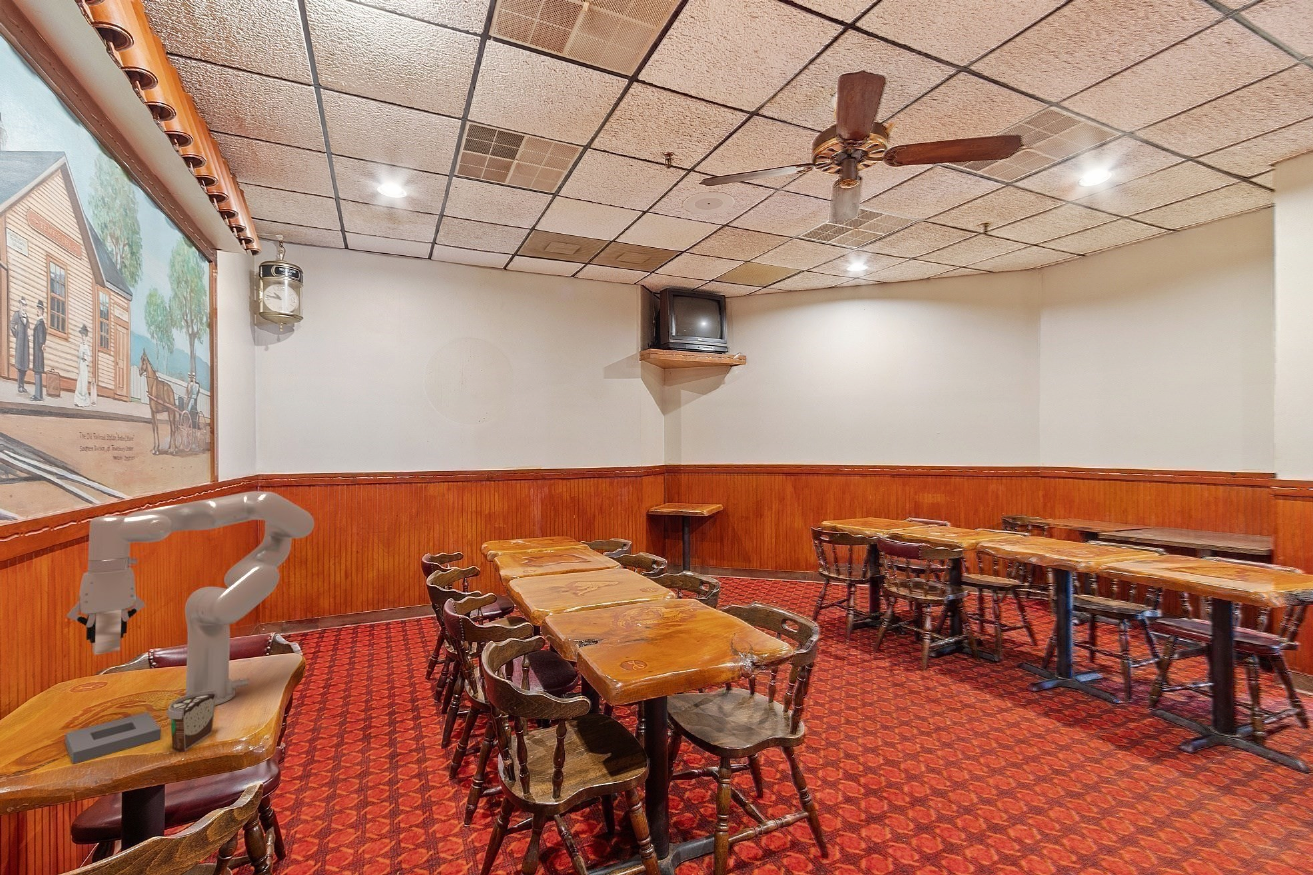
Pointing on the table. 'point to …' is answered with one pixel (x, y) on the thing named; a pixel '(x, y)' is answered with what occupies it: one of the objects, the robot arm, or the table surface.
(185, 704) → the food container
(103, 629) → the off-white block
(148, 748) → the table surface
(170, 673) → the table surface
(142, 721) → the charcoal pocket board
